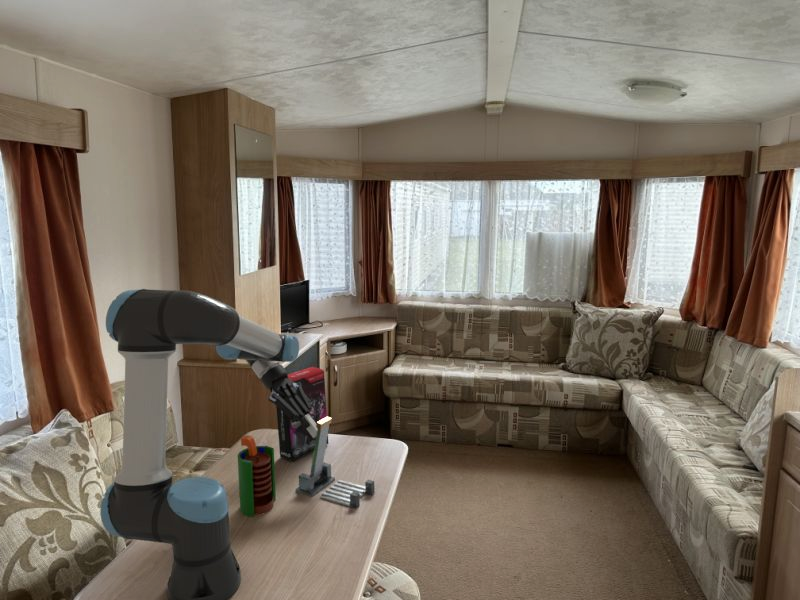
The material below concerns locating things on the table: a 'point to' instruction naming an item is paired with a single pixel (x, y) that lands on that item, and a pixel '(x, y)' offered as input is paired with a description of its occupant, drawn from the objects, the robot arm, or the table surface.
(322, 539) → the table surface
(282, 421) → the graphics card box
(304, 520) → the table surface
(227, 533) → the robot arm
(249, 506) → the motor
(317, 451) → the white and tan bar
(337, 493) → the bracket
